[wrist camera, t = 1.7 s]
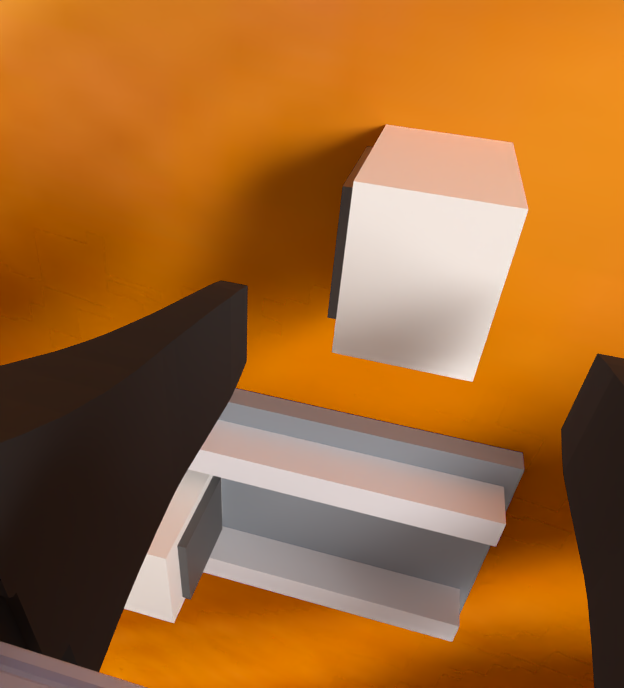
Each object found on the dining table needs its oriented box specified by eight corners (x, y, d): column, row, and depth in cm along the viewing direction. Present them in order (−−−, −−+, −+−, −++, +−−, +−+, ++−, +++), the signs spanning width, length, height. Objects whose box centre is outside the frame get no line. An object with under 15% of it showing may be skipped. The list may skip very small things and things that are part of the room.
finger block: (512, 142, 17) (528, 209, 12) (472, 282, 20) (472, 381, 15) (374, 122, 18) (336, 178, 13) (354, 261, 21) (318, 349, 16)
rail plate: (522, 453, 24) (538, 603, 18) (457, 602, 31) (454, 744, 25) (139, 366, 26) (48, 474, 21) (159, 522, 33) (95, 634, 28)
